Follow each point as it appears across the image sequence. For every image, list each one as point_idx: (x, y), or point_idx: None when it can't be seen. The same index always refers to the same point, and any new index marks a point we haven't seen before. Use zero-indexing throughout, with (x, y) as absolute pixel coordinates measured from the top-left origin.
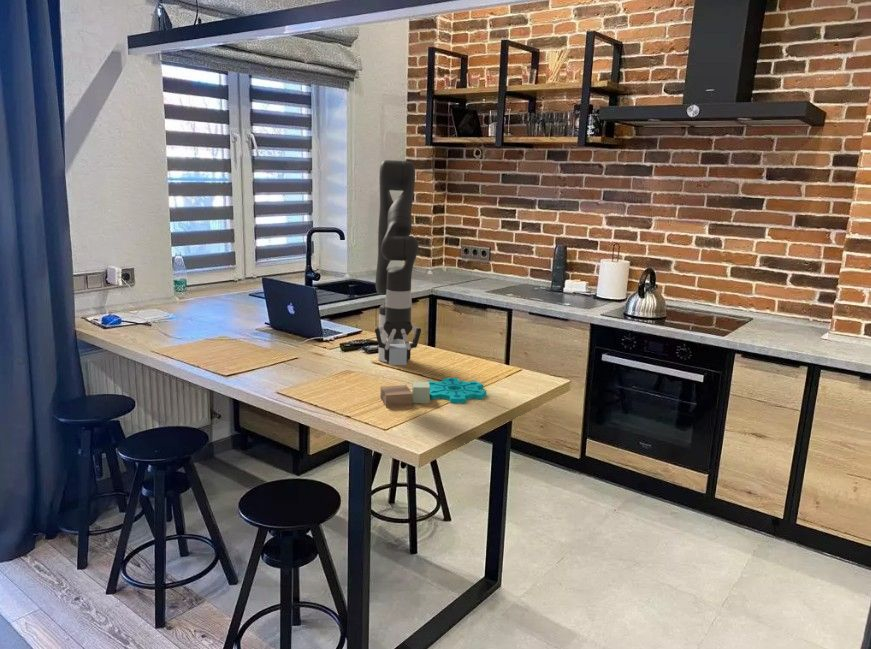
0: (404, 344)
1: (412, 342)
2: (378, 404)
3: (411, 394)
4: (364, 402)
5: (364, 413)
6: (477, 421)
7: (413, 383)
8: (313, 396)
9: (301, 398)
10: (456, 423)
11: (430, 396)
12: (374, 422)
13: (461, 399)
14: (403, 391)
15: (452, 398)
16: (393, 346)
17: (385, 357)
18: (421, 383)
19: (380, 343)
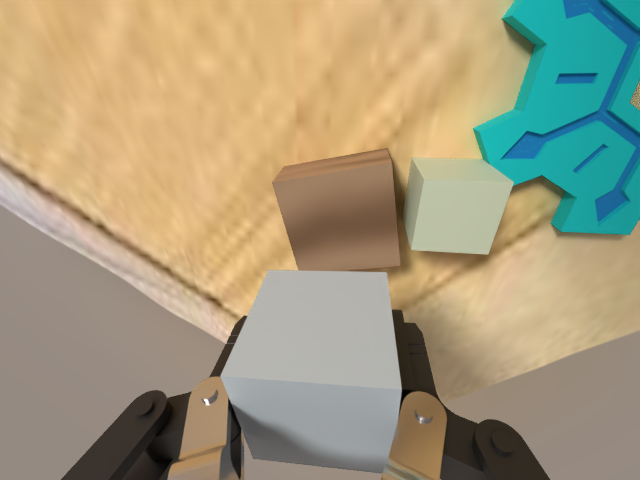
0: (390, 401)
1: (482, 468)
2: (282, 227)
3: (395, 264)
4: (234, 208)
5: (250, 286)
6: (555, 353)
7: (424, 201)
8: (50, 147)
9: (26, 167)
10: (488, 356)
11: None
12: None
13: (607, 231)
14: (367, 242)
15: (570, 229)
16: (277, 430)
17: None
18: (465, 202)
19: (157, 472)
